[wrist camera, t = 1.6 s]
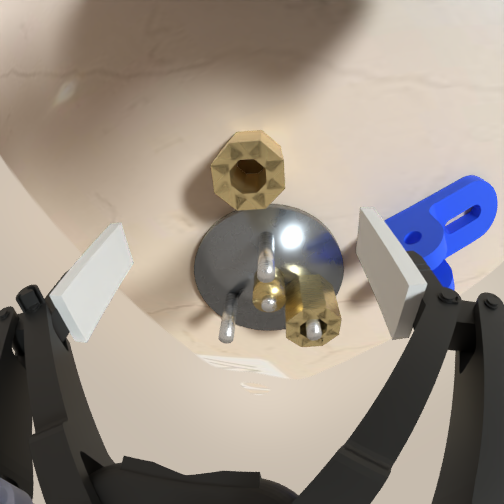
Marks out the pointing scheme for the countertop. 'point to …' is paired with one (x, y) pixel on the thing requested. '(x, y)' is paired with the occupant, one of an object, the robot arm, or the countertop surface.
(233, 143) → the octagonal wooden tube
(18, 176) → the countertop surface
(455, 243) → the bracket
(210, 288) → the carrier
